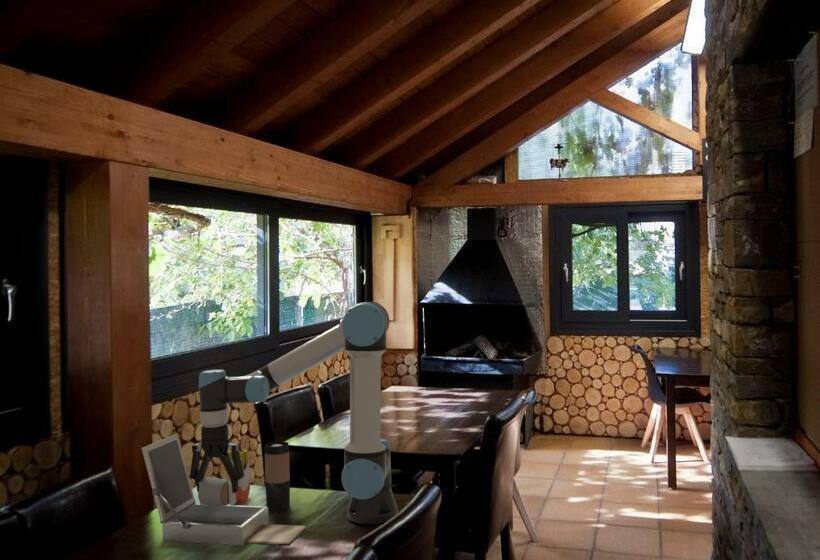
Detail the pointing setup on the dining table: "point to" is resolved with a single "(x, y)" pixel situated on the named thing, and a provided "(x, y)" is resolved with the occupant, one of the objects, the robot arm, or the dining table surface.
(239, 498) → the french fries container
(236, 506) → the equipment case
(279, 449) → the travel mug
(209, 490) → the ceramic mug
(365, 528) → the dining table surface
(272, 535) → the cork pad
